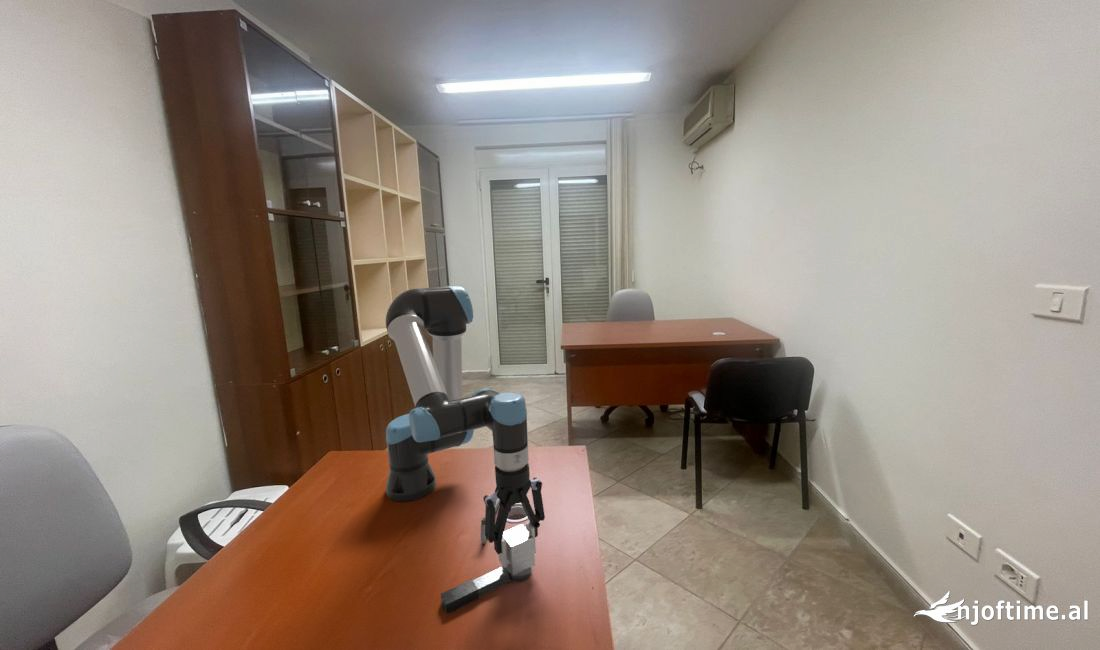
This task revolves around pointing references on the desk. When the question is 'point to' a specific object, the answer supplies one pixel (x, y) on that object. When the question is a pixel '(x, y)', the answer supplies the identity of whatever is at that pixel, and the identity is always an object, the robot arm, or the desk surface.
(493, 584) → the ratchet
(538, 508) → the robot arm
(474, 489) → the desk surface
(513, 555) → the plain grey cube
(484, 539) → the caliper
